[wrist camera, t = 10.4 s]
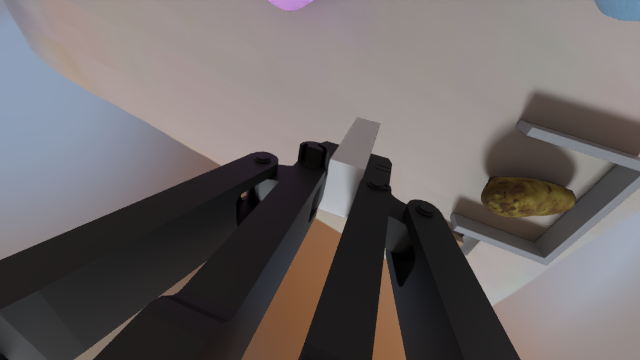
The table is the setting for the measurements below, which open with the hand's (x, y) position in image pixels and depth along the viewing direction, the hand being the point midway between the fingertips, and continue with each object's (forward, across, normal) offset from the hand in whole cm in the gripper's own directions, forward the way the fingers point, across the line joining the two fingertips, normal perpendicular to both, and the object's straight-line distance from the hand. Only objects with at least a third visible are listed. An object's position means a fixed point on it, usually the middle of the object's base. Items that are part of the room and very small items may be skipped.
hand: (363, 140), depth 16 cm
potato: (+29, +26, -12) cm, 40 cm away
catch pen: (+29, +28, -12) cm, 42 cm away
